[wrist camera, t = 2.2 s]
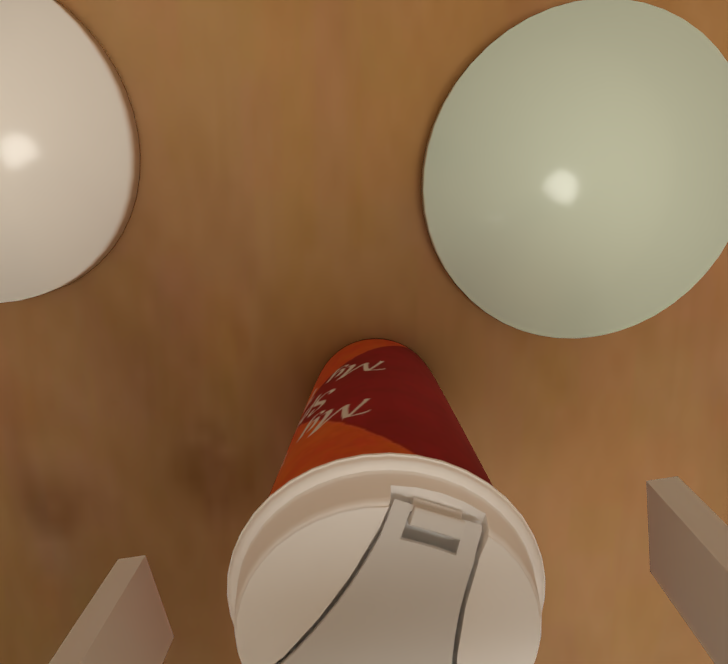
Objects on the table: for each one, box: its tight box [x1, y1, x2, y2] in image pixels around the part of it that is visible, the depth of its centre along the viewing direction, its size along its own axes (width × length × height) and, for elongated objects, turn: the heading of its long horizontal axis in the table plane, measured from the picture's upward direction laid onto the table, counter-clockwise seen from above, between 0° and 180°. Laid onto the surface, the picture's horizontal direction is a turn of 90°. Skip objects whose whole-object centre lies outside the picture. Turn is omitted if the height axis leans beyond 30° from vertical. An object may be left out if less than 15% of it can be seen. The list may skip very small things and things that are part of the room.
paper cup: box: [227, 339, 545, 664], centre depth 18 cm, size 8×8×14 cm
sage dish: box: [421, 0, 728, 338], centre depth 22 cm, size 13×13×1 cm
